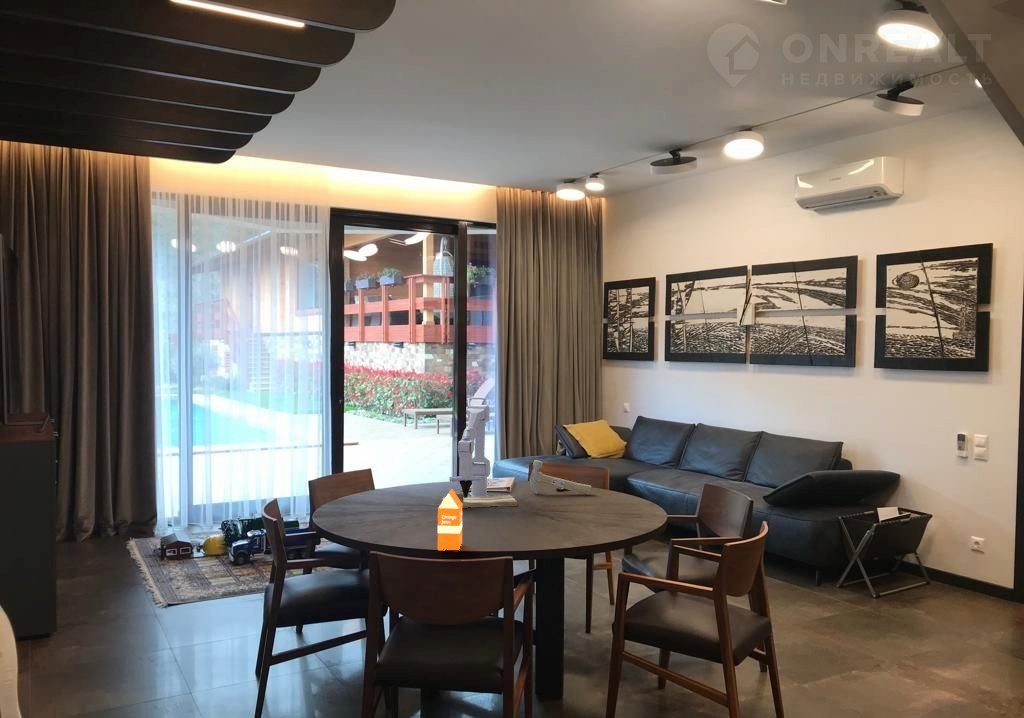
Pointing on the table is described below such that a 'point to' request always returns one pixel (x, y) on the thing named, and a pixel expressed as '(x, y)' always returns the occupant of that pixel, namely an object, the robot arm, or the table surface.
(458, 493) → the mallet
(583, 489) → the hammer
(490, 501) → the board
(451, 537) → the orange juice
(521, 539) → the table surface
